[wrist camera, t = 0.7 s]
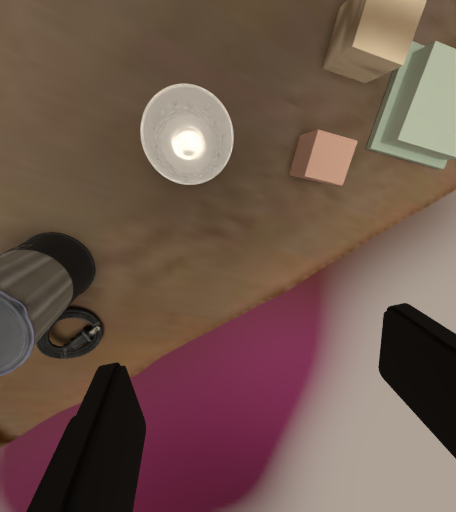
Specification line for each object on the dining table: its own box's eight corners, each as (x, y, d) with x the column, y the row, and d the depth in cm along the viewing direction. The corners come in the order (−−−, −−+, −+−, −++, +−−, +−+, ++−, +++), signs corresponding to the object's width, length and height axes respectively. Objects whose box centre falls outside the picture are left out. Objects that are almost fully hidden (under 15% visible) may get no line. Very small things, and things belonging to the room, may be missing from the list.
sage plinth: (402, 43, 31) (432, 26, 27) (479, 73, 33) (515, 61, 29) (365, 148, 34) (387, 146, 30) (437, 169, 36) (465, 169, 33)
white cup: (232, 136, 31) (251, 123, 22) (200, 192, 33) (203, 201, 24) (176, 94, 29) (169, 59, 20) (143, 156, 31) (123, 151, 21)
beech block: (339, 7, 29) (375, -32, 23) (384, 26, 30) (429, -7, 24) (322, 69, 30) (352, 46, 25) (365, 83, 32) (403, 65, 26)
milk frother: (51, 216, 31) (-58, 254, 18) (148, 295, 37) (122, 373, 23) (-21, 289, 33) (-172, 377, 19) (81, 355, 38) (20, 461, 24)
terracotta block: (299, 135, 32) (318, 129, 28) (334, 144, 33) (357, 140, 29) (288, 175, 34) (304, 176, 29) (322, 183, 35) (342, 185, 30)
